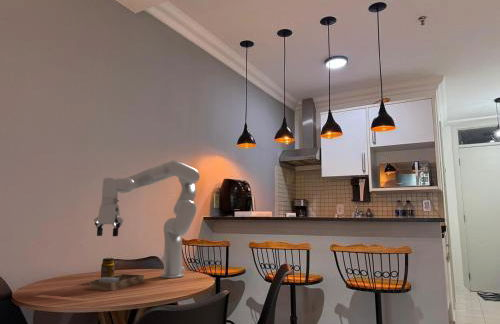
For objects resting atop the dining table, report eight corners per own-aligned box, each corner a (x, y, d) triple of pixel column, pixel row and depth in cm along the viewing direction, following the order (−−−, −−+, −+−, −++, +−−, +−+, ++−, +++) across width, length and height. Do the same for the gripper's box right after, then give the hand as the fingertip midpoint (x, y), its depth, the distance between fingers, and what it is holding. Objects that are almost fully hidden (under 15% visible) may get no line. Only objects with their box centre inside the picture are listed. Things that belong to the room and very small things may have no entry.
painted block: (104, 285, 165) (104, 277, 166) (118, 287, 163) (119, 277, 163) (98, 287, 162) (98, 278, 162) (112, 288, 159) (113, 279, 160)
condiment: (117, 282, 180) (118, 257, 181) (104, 285, 172) (105, 259, 174) (106, 281, 182) (107, 257, 184) (93, 284, 175) (94, 259, 177)
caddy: (121, 282, 180) (121, 273, 181) (143, 283, 176) (143, 275, 177) (88, 290, 160) (89, 281, 160) (112, 292, 155) (113, 283, 156)
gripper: (128, 202, 184) (126, 236, 181) (101, 202, 189) (98, 235, 187) (118, 201, 177) (116, 236, 174) (90, 201, 182) (88, 236, 180)
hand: (107, 236), depth 180 cm, fingers open, 9 cm apart
